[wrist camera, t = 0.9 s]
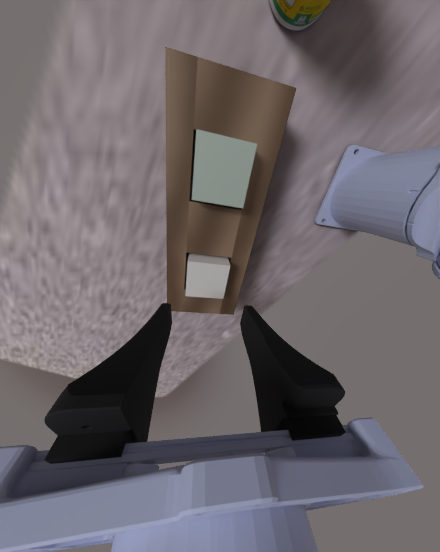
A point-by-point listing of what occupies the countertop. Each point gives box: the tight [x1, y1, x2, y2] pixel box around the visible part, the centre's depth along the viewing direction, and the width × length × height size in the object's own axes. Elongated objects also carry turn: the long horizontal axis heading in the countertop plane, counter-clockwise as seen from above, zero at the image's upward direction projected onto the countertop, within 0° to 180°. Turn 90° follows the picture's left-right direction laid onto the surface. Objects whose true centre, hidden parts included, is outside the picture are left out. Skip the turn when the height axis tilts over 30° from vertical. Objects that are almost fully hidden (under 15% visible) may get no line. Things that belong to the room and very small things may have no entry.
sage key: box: [192, 129, 257, 208], centre depth 13 cm, size 4×4×3 cm
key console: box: [166, 47, 296, 315], centre depth 18 cm, size 9×22×4 cm, turn 171°
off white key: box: [185, 253, 230, 299], centre depth 18 cm, size 4×4×3 cm
